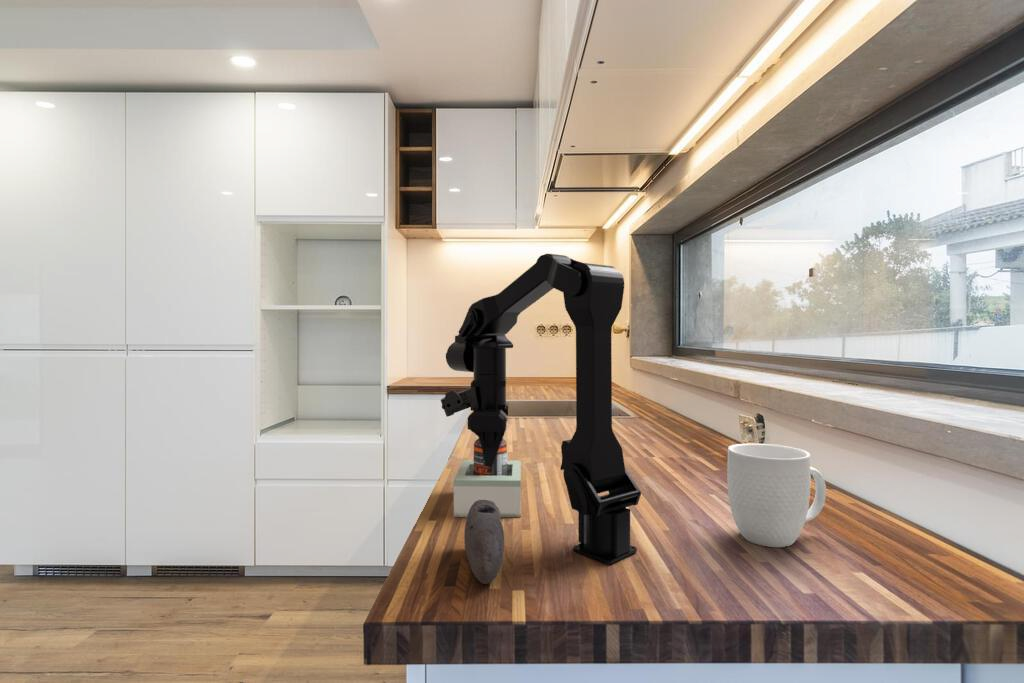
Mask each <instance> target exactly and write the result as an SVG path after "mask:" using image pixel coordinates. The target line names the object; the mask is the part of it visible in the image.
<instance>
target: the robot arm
mask: <svg viewBox="0 0 1024 683" xmlns="http://www.w3.org/2000/svg"><path fill="white" fill-rule="evenodd" d="M553 289H555V290H557V291H559V292H561V293H562V294H563V295H562V296H563V302H564V309H565V310H566V313H567V314H568V316H569V318H570V320H571V323H572V324H573V325H574V329H575V385H576V386H575V388H576V390H575V398H576V399H575V407H576V410H575V412H576V413H575V414H576V422H575V423H576V427H575V431H574V433H573V436H572V437H571V439H567V440H562V442H561V446H560V450H561V465H560V467H559V468H560V470H561V471H563V480H564V483H565V485H566V490H567V495H568V498H569V502H570V507H571V509H572V510H575V511H577V512H578V526H577V527H578V530H577V531H578V532H577V534H578V544H576V545H573V546H572V551H573V552H576V553H579V554H581V555H584V556H586V557H588V558H592V559H594V560H596V561H599V562H602V563H605V564H608V565H611V564H613V563H616V562H619V561H620V560H622V559H624V558H627V557H628V556H630V555H633V554H635V553H636V552H638V547H636V546H634V545H631V509H630V508H629V507H631V506H637V505H638V504H639V501H640V499H641V496H642V491H641V489H640V488H639V487H638V485H637V483H636V482H635V481H634V479H633V477H632V476H631V475H630V473H629V472H628V470H627V469H626V467H625V466H626V465H625V460H624V452H623V447H622V446H621V443H620V442H619V440H618V438H617V436H616V435H615V433H614V431H613V413H612V412H613V411H612V410H613V409H612V408H613V407H612V406H613V398H612V397H613V396H612V394H613V393H612V392H613V391H612V390H613V388H612V387H613V386H612V384H613V381H612V377H613V376H612V375H613V374H612V371H613V370H612V364H613V362H612V329H613V325H614V323H615V321H616V320H617V318H618V316H619V314H620V311H621V310H622V306H623V301H624V300H623V299H624V293H625V292H624V291H625V279H624V276H623V274H622V273H621V272H620V271H619V269H617V268H616V267H615V266H613V265H603V264H595V263H587V262H582V261H578V260H576V259H573V258H571V257H569V256H567V255H563V254H556V253H555V254H554V253H545V254H542V255H540V256H539V257H538V258H537V260H536V262H535V263H534V264H533V265H531V266H530V267H528V269H527V270H526V271H524V272H523V273H522V274H520V276H518V277H517V278H516V279H515V280H514V281H512V282H511V283H510V284H508V285H507V286H506V287H505V288H504V289H502V290H501V291H500V292H499V293H497V294H494V295H490V296H486V297H482V298H481V299H478V300H477V301H475V302H472V304H471V305H470V306H469V307H468V310H467V313H466V315H465V318H464V320H463V323H462V325H461V326H460V328H459V330H458V335H454V342H452V343H451V344H450V345H448V346H449V347H448V348H447V350H446V353H445V361H446V363H447V365H448V366H449V368H450V369H451V370H453V371H458V372H468V373H473V380H472V381H471V382H470V387H469V388H466V389H462V390H461V391H457V390H456V389H452V390H450V391H446V393H445V396H444V397H442V398H440V402H441V409H443V411H444V413H445V416H446V417H451V416H453V415H455V413H456V414H457V413H458V412H461V411H464V410H466V409H469V408H470V411H472V412H471V413H470V414H469V415H468V417H467V430H469V431H470V432H472V433H473V434H475V435H476V436H477V437H478V438H479V439H480V442H481V447H482V451H483V456H484V460H485V465H486V466H487V467H491V466H492V465H493V463H494V460H495V457H496V455H497V452H498V449H499V447H500V444H501V441H502V439H504V436H505V433H506V430H507V422H508V420H509V419H508V418H509V417H507V416H509V403H508V402H507V354H506V353H507V349H513V348H514V344H513V342H512V341H511V340H510V339H508V337H506V335H507V334H508V333H509V332H510V331H511V330H512V329H513V327H514V326H516V324H517V323H518V319H519V318H518V317H519V315H520V314H521V313H522V312H524V311H525V310H527V309H528V308H529V307H530V306H532V305H533V304H534V303H536V302H537V301H539V300H541V298H542V297H544V296H545V295H547V294H548V293H549V292H551V291H552V290H553ZM604 492H608V494H603V495H600V496H599V494H602V493H604Z"/></svg>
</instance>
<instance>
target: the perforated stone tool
mask: <svg viewBox="0 0 1024 683" xmlns="http://www.w3.org/2000/svg"><path fill="white" fill-rule="evenodd" d="M464 526H465V527H464V539H463V540H464V547H465V548H464V549H465V553H466V557H467V561H468V564H469V567H470V569H471V572H472V573H473V575H474V577H475V578H476V579H477V581H478V582H479V583H481V584H482V585H487V584H489V583H491V582H492V581H494V579H496V577H497V575H498V574H499V572H500V569H501V566H502V563H503V557H504V552H505V551H504V550H505V531H504V527H503V523H502V517H501V514H500V511H499V509H498V507H497V506H496V505H495V503H494V502H492V501H489V500H477V501H476V502H474V504H473V505H472V506H471V508H470V510H469V513H468V516H467V517H466V520H465V525H464Z"/></svg>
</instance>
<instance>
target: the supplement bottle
mask: <svg viewBox="0 0 1024 683" xmlns="http://www.w3.org/2000/svg"><path fill="white" fill-rule="evenodd" d="M473 460H474V476H507V461H508V443H507V441H506V439H504V438H503V439H502V441H501V444H500V447H499V449H498V452H497V455H496V457H495V460H494V463H493V465H492V466H491V467H487V466H486V465H485V460H484V456H483V451H482V447H481V442H480V439H479V437H478V439H476V440H474V442H473Z"/></svg>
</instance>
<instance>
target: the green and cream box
mask: <svg viewBox="0 0 1024 683" xmlns="http://www.w3.org/2000/svg"><path fill="white" fill-rule="evenodd" d="M521 463H522V460H507V476H474V459H473V460H462V461H461V463H460V466H459V468H458V470H457V472H456V475H455V477H454V478H453V517H455V518H458V517H459V518H462V517H463V518H464V517H465V518H467V516H468V513H469V510H470V508H471V506H472V505H473V504H474V502H476V501H477V500H489V501H492V502H494V503H495V505H496V506H497V507H498V509H499V511H500V514H501V518H522V516H521V515H522V514H521V511H522V510H521V508H522V506H521V505H522V504H521V502H522V498H521V497H522V492H521V491H522V486H521V485H522V482H521V481H522V478H521V477H522V472H521V471H522V470H521V469H522V464H521Z"/></svg>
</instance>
